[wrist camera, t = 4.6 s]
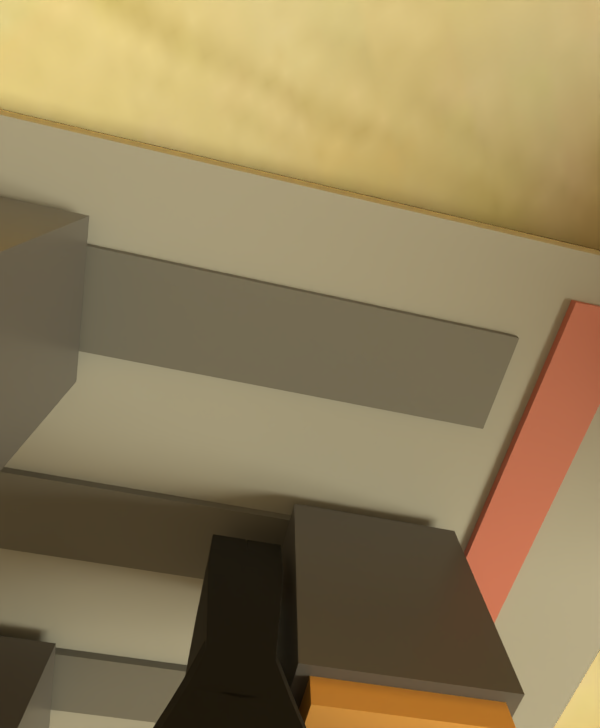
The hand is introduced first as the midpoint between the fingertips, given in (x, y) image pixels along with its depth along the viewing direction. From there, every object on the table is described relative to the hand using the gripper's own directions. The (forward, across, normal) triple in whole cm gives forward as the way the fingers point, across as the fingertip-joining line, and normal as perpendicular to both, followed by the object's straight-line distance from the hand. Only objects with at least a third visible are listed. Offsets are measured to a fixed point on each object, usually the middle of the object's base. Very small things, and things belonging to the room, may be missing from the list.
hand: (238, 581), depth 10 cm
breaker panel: (+2, +2, 0) cm, 3 cm away
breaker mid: (+1, -2, 0) cm, 2 cm away
